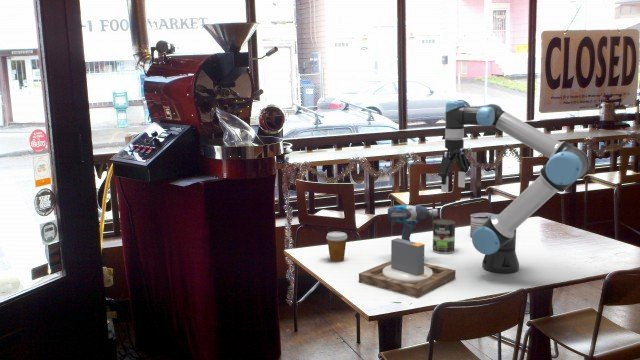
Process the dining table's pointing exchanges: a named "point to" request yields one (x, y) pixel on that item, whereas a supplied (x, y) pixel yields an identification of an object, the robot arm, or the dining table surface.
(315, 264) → the dining table surface
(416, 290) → the dial base
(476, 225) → the can
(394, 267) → the dial
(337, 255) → the disposable coffee cup
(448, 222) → the coffee can
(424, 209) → the impact wrench
